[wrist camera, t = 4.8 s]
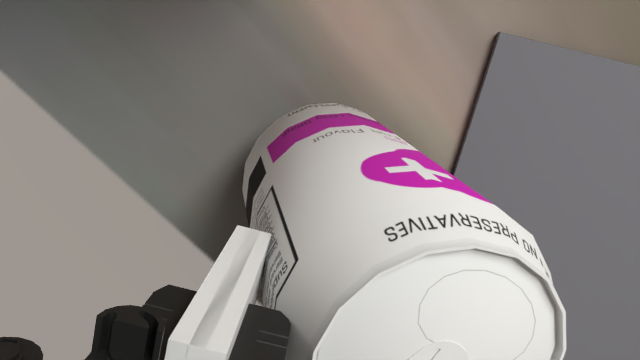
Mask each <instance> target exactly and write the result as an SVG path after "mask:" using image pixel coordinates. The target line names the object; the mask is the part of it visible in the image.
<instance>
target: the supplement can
mask: <svg viewBox="0 0 640 360" xmlns="http://www.w3.org/2000/svg"><path fill="white" fill-rule="evenodd" d="M242 191H243V196H244V202H245V207H246V213H247V218H248V224H249V228H251V229H255V230H259V231H262V232H266V233H270V234H272V236H271V240H270V243H269V247H268V250H267V254H266V259H265V264H264V268H263V273H262V277H261V282H260V290H261V295H262V301H263V306H264V307H266V308H270V309H274V310H278V311H281V312H282V313H283V314H284V315H285V316H286V317H287V318H288V319H289V321H290V323H291V328H290V333H289V338H288V344H287V350H286V355H285V360H563V357H564V355H565V352H566V311H565V309H564V307H563V305H562V303H561V301H560V299H559V297H558V294H557V292H556V290H555V288H554V286H553V282H552V278H551V273H550V271H549V269H548V266H547V264H546V262H545V260H544V258H543V256H542V254H541V252H540V250H539V247H538V245H537V243H536V241H535V239H534V237H533V235H532V234H530V233H529V232H528V231H527V230H526V229H524V228H523V227H522V226H521V225H519V224H518V223H517V222H516V221H514V220H513V219H512V218H511V217H509V216H508V215H507V214H506V213H505V212H503V211H502V210H501V209H500V208H498V207H497V206H495V205H494V204H493V203H491V202H490V201H488V200H487V199H486V198H484V197H483V196H481V195H480V194H479V193H477V192H476V191H474V190H473V189H471V188H470V187H469V186H467V185H466V184H464V183H463V182H462V181H460V180H459V179H457V178H456V177H455V176H453V175H452V174H450V173H449V172H448V171H446V170H445V169H443V168H442V167H441V166H439V165H438V164H436V163H435V162H434V161H432V160H431V159H429V158H428V157H426V156H425V155H424V154H422V153H421V152H419V151H418V150H417V149H415V148H414V147H412V146H411V145H410V144H408V143H407V142H405V141H404V140H403V139H401V138H400V137H398V136H397V135H396V134H394V133H393V132H391V131H390V130H389V129H387V128H386V127H384V126H383V125H381V124H380V123H379V122H377V121H376V120H374V119H373V118H372V117H370V116H369V115H367V114H366V113H365V112H363V111H361V110H358V109H354V108H351V107H348V106H345V105H341V104H338V103H326V104H311V105H305V106H303V107H301V108H298V109H296V110H294V111H292V112H289V113H287V114H285V115H282V116H280V117H279V118H278V119H277V120H276V121H275V122H274V123H273V124H271V125H270V126H269V127H268V128H267V129H266V130H265V131H264V132H263V133H262V134H261V135H260V136H259V137H258V138H257V140H256V142H255V144H254V146H253V148H252V150H251V152H250V154H249V156H248V158H247V160H246V162H245V170H244V179H243V188H242Z"/></svg>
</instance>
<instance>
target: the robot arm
mask: <svg viewBox="0 0 640 360" xmlns="http://www.w3.org/2000/svg"><path fill="white" fill-rule="evenodd" d="M271 236H272V234H270V233H266V232H262V231H259V230H255V229H251V228H247V227H243V226H239V225H237V227H236V229H235V230H234V232H233V234H232V235H231V237H230V238H229V240H228V242H227V243H226V245H225V247H224V248H223V250H222V252H221V253H220V255H219V257H218V258H217V260H216V262H215V263H214V265H213V267H212V268H211V270H210V272H209V273H208V275H207V277H206V278H205V280H204V281H203V283H202V285H201V286H200V288H199V290H198V291H197V292H196V291H193V290H189V289H184V288H180V287H176V286H172V285H167V286H165V287H163V288H161V289H159V290H157V291H155V292H153V294H152V295H151V296H150V298H149V299H148V300H147V301H146V303H145V305H143V306H142V307H139V306H132V305H129V306H128V305H127V306H116V307H113V308H109V309H106V310H104V311H103V312H101V313H100V314H98V315H97V318H96V325H95V331H94V338H93V345H92V351H91V353H90V354H89V355H88V357H87V358H86V359H85V360H285V355H286V350H287V344H288V338H289V333H290V328H291V323H290V321H289V319H288V318H287V317H286V316H285V315H284V314H283V313H282V312H281V311H278V310H274V309H270V308H266V307H262V306H258V305H255V302H256V298H257V294H258V290H259V286H260V282H261V277H262V273H263V268H264V264H265V259H266V254H267V250H268V247H269V243H270V240H271ZM0 360H43V354H42V351H41V348H40V347H39V346H38V345H37V344H35V343H34V342H32V341H30V340H26V339H23V338H19V337H1V338H0Z"/></svg>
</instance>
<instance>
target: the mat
mask: <svg viewBox="0 0 640 360" xmlns="http://www.w3.org/2000/svg"><path fill="white" fill-rule="evenodd" d="M452 175H453V176H455V177H456V178H457V179H459V180H460V181H462V182H463V183H464V184H466V185H467V186H469V187H470V188H471V189H473V190H474V191H476V192H477V193H479V194H480V195H481V196H483V197H484V198H486V199H487V200H488V201H490V202H491V203H493V204H494V205H495V206H497V207H498V208H500V209H501V210H502V211H503V212H505V213H506V214H507V215H508V216H509V217H511V218H512V219H513V220H514V221H516V222H517V223H518V224H519V225H521V226H522V227H523V228H524V229H526V230H527V231H528V232H529V233H530V234H532V235H533V237H534V239H535V241H536V243H537V245H538V247H539V250H540V252H541V254H542V256H543V258H544V260H545V262H546V264H547V266H548V269H549V271H550V273H551V278H552V282H553V286H554V288H555V290H556V292H557V294H558V297H559V299H560V301H561V303H562V305H563V307H564V309H565V311H566V352H565V355H564V357H563V360H640V67H639V66H635V65H631V64H627V63H623V62H619V61H615V60H611V59H607V58H603V57H599V56H595V55H591V54H587V53H583V52H579V51H575V50H571V49H567V48H563V47H559V46H555V45H551V44H547V43H543V42H538V41H534V40H530V39H526V38H522V37H518V36H514V35H510V34H506V33H502V32H498V35H497V38H496V41H495V44H494V47H493V50H492V53H491V56H490V60H489V63H488V66H487V69H486V72H485V75H484V78H483V81H482V84H481V87H480V90H479V94H478V97H477V100H476V103H475V106H474V109H473V112H472V115H471V118H470V121H469V124H468V128H467V131H466V134H465V137H464V140H463V143H462V146H461V149H460V152H459V155H458V158H457V162H456V165H455V168H454V171H453V174H452Z"/></svg>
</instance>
